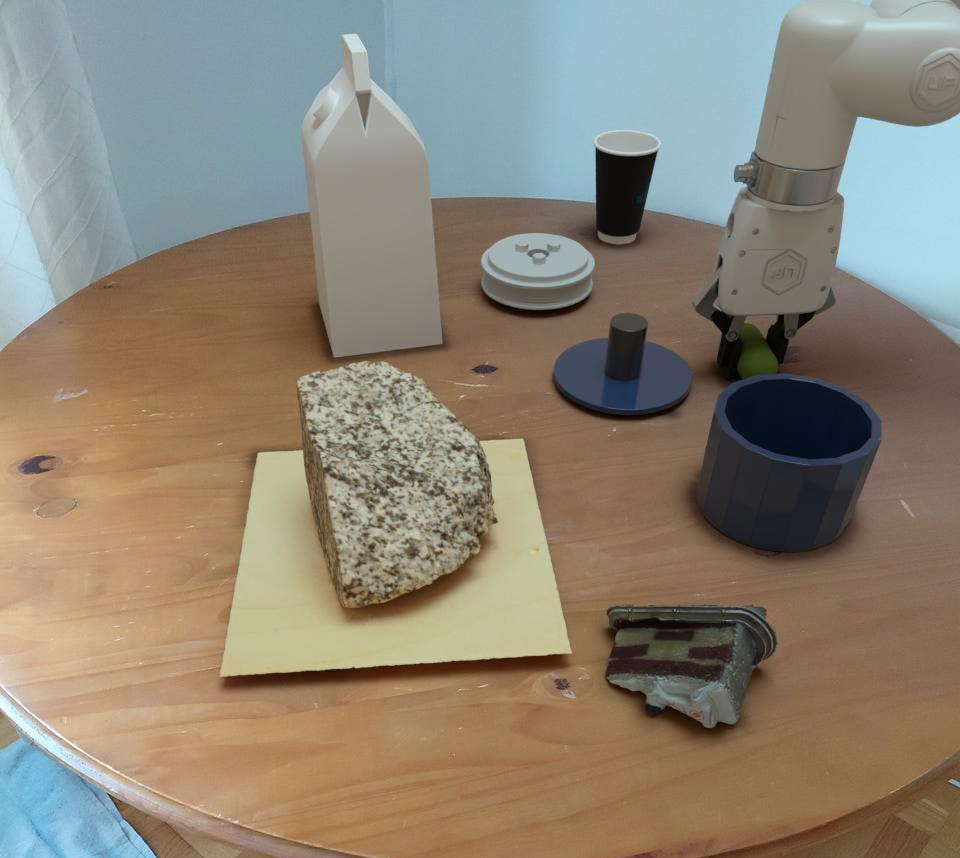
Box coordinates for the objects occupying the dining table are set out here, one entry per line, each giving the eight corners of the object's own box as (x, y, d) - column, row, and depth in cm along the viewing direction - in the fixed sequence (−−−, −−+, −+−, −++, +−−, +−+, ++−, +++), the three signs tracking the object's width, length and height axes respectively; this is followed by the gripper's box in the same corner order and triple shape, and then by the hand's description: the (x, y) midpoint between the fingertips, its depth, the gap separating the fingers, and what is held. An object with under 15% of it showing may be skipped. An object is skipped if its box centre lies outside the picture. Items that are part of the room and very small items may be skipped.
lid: (518, 328, 96) (519, 283, 92) (461, 282, 103) (460, 238, 99) (613, 300, 100) (618, 256, 96) (552, 258, 107) (554, 215, 104)
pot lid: (672, 345, 93) (682, 285, 89) (705, 417, 84) (719, 355, 79) (544, 350, 93) (547, 291, 88) (563, 424, 83) (568, 362, 79)
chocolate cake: (565, 692, 62) (698, 672, 52) (596, 607, 64) (727, 573, 55) (656, 754, 66) (794, 747, 56) (681, 672, 69) (817, 652, 59)
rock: (250, 450, 80) (322, 290, 71) (459, 534, 89) (548, 402, 79) (209, 674, 60) (302, 494, 51) (484, 755, 69) (607, 613, 59)
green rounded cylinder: (718, 349, 93) (725, 317, 90) (751, 348, 93) (759, 315, 90) (742, 395, 87) (750, 361, 84) (778, 393, 87) (787, 360, 84)
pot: (818, 455, 80) (846, 370, 74) (871, 547, 71) (909, 460, 65) (680, 462, 79) (697, 377, 73) (718, 556, 71) (741, 468, 64)
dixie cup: (578, 225, 114) (585, 131, 106) (638, 221, 115) (649, 127, 107) (594, 252, 109) (603, 154, 101) (656, 247, 110) (670, 150, 101)
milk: (442, 343, 93) (433, 57, 74) (333, 357, 92) (295, 67, 72) (420, 292, 101) (406, 21, 82) (319, 303, 99) (281, 29, 80)
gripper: (710, 198, 73) (675, 394, 87) (905, 191, 74) (840, 386, 88) (688, 164, 78) (658, 355, 92) (871, 158, 79) (814, 348, 93)
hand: (747, 368), depth 90 cm, fingers closed on green rounded cylinder, 3 cm apart
